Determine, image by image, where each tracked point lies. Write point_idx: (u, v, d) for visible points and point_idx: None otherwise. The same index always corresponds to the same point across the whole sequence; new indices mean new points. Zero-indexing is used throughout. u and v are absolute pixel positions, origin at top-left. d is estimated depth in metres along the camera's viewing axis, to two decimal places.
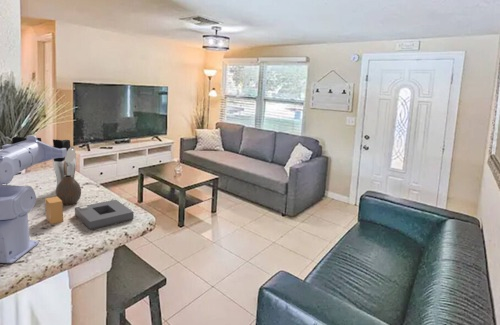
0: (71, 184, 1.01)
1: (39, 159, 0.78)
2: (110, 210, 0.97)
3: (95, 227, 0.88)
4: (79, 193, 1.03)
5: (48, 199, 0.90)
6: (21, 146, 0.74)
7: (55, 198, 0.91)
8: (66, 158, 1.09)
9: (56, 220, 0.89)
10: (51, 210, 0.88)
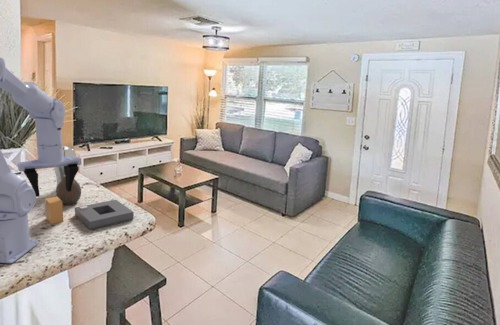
0: None
1: (62, 154, 0.88)
2: (110, 210, 0.97)
3: (95, 227, 0.88)
4: (79, 193, 1.03)
5: (48, 199, 0.90)
6: None
7: (55, 198, 0.91)
8: None
9: (56, 220, 0.89)
10: (51, 210, 0.88)
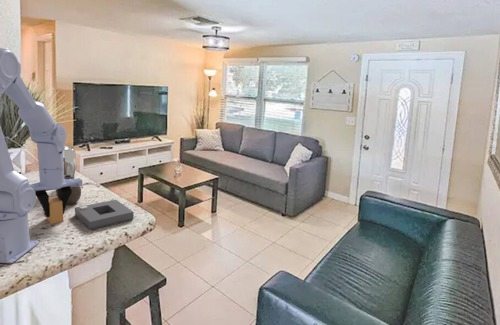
0: None
1: (63, 176, 0.89)
2: (110, 210, 0.97)
3: (95, 227, 0.88)
4: (79, 193, 1.03)
5: None
6: None
7: (55, 198, 0.91)
8: (66, 158, 1.09)
9: (56, 220, 0.89)
10: (51, 210, 0.88)
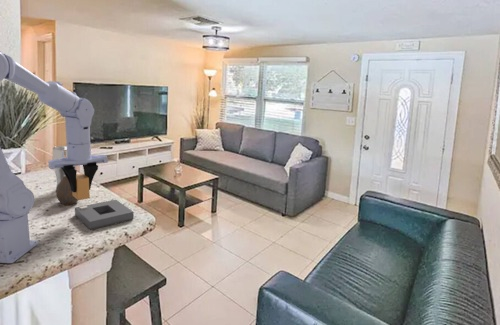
0: None
1: (90, 152, 0.90)
2: (110, 210, 0.97)
3: (95, 227, 0.88)
4: None
5: None
6: None
7: (81, 175, 0.92)
8: None
9: (83, 196, 0.90)
10: (78, 186, 0.89)
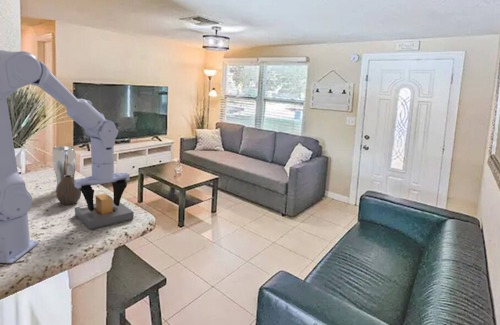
0: (71, 184, 1.01)
1: (113, 170, 0.93)
2: None
3: (95, 227, 0.88)
4: (79, 193, 1.03)
5: (98, 196, 0.94)
6: None
7: (105, 195, 0.95)
8: (66, 158, 1.09)
9: None
10: (102, 206, 0.92)
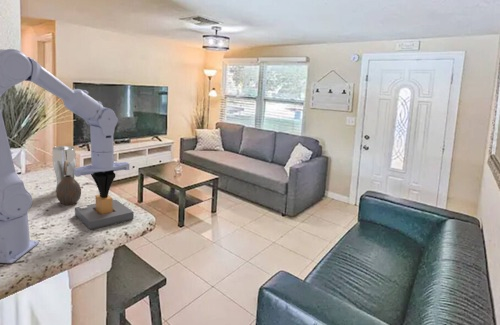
0: (71, 184, 1.01)
1: (113, 159, 0.92)
2: None
3: (95, 227, 0.88)
4: (79, 193, 1.03)
5: (98, 196, 0.94)
6: None
7: None
8: (66, 158, 1.09)
9: None
10: (102, 206, 0.92)
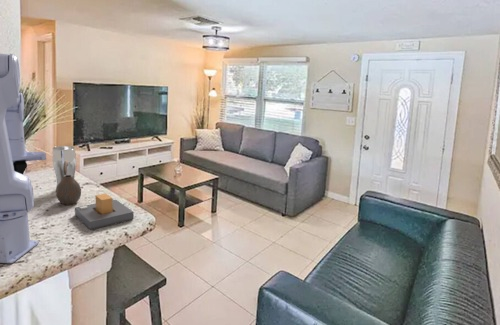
0: (71, 184, 1.01)
1: (24, 148, 0.84)
2: None
3: (95, 227, 0.88)
4: (79, 193, 1.03)
5: (98, 196, 0.94)
6: None
7: (105, 195, 0.95)
8: (66, 158, 1.09)
9: None
10: (102, 206, 0.92)
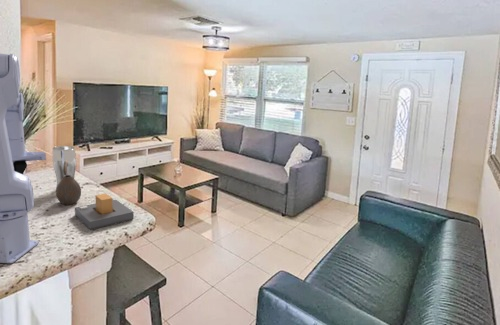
0: (70, 184, 1.01)
1: (24, 148, 0.84)
2: None
3: (95, 227, 0.88)
4: (79, 193, 1.03)
5: (98, 196, 0.94)
6: None
7: (105, 195, 0.95)
8: (66, 158, 1.09)
9: None
10: (102, 206, 0.92)
